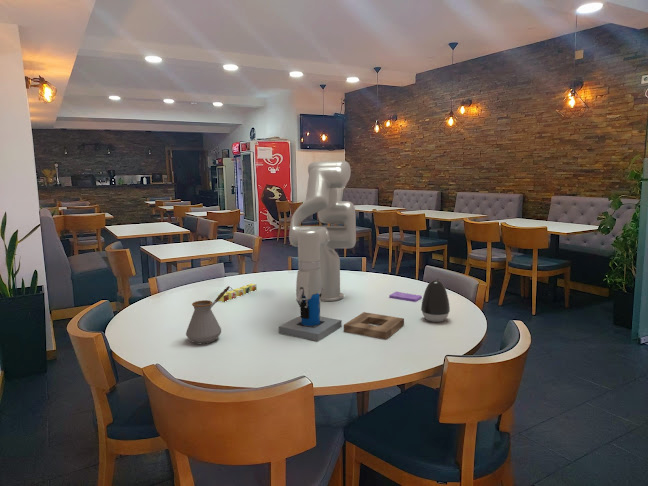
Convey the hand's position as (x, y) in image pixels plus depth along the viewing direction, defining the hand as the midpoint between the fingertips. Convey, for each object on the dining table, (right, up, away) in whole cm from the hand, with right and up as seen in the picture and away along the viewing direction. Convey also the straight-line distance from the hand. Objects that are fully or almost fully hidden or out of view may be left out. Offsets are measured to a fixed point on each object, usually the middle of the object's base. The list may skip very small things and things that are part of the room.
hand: (310, 314), depth 159 cm
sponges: (+40, +1, +39) cm, 56 cm away
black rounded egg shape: (+46, -3, +9) cm, 47 cm away
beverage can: (0, -4, +1) cm, 4 cm away
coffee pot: (-33, -7, -3) cm, 34 cm away
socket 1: (0, -5, +1) cm, 5 cm away
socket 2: (+23, -5, +1) cm, 23 cm away
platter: (-32, +1, +48) cm, 57 cm away
